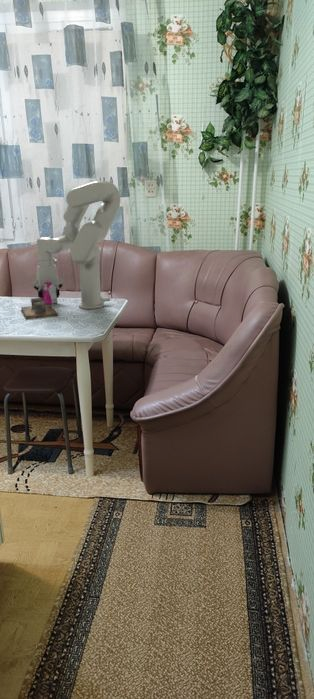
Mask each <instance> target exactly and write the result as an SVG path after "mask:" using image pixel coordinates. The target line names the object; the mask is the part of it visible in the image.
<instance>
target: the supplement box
mask: <svg viewBox="0 0 314 699" xmlns="http://www.w3.org/2000/svg"><path fill="white" fill-rule="evenodd" d="M41 293H42V302H45V304H46V305H49V304H51V306H52V305H56V304H59V303H58V302H59V301H58V298H57V291H56V286H54V285H52V282H46V283H45V285H44V286H43V287H42V288H41Z"/></svg>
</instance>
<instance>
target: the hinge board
mask: <svg viewBox="0 0 314 699" xmlns="http://www.w3.org/2000/svg"><path fill="white" fill-rule="evenodd" d="M30 304H31V306H22V307H21V311H22V313H23V316H24V318H25V319H26V320H33V319H34V320H35V319H41V318H42V319H44V318H53V317H58V315H59V314H58V312H57V311H56V309H55V308H54V307H53V306H52V305H51V304H49V305H46V304H45V302H42V298H40V297H35V298H34V297H33V298H30Z"/></svg>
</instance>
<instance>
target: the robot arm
mask: <svg viewBox="0 0 314 699" xmlns="http://www.w3.org/2000/svg"><path fill="white" fill-rule="evenodd" d="M65 199H66V204H67V207H66V209H65V211H64V213H63V216H62V217H63V220H64V221H65V227H64V230H63V232H62V234H61V236H57V237H53V238H51V237H50V236H42V237H37V240H36V247H37V248H36V249H37V259H38V262H37V263H38V265H37V266H36V278H35V279H33V281H31V282H30V285H31V286H32V287H33V289H35V290H36V291H37V295H38V296H37V298H42V293H41V288H42V287H43V286H44V285H45V283H46V282H52V285H54V286H56V291H57V299H58V298H60V297H59V296H60V294H61V292H60V291H61V288H62V287H63V286H64V284H65V282H66V281H65V280H64V279H62V278H61V277H59V274H58V269H57V266H56V263H58V260H57V259H55V256H54V255H59V254H60V255H61V254H63V253H65V252H69V251H70V257H71V260H72V261H73V262H74V263H75V264H76V265H77V264H78V265H79V281H80V283H79V284H80V285H79V286H80V302H79V303H78V308H80V309H85V310H95V309H101V308H103V307H105V302H111V297H110V296H109V297H107V296H105V297H104V296H102V294H101V293H102V292H101V276H100V274H101V272H100V260H101V249H100V246H99V245H98V244H97V243H98V242H102V241H104V240H105V238H107V235H108V233H109V231H110V228H111V226H112V224H113V222H114V220H115V218H116V215H117V213H118V211H119V209H120V204H121V194H120V192H119V190H118V187H117V186H116V185H115V184H114V183H113V182H111V181H108V180H100V181H92V182H89V183H87V184H84V185H81V186H77V187H75V188H72V189H70V190H69V191H68V192H67V194H66V197H65ZM99 202H101V204H100V205H99V207H98V208H97V210H96V212H95V214H94V217H93V218H92V220H91V221H90V222H86V223H85V224H83V225H81V222H82V220H84V216H85V215H86V212H87V210H88V209H89V207H90V205H92V204H95V203H99ZM80 225H81V228H80ZM36 284H37V285H38V286H37V285H36Z"/></svg>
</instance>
